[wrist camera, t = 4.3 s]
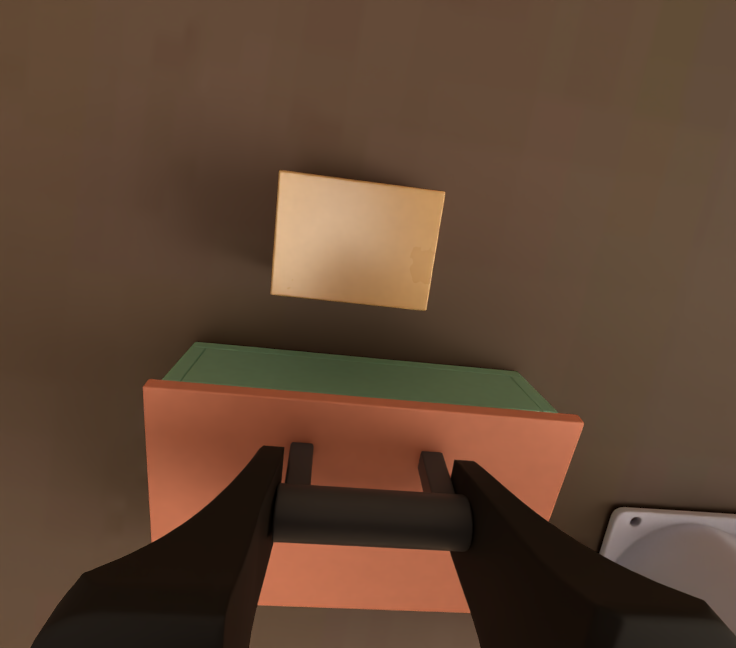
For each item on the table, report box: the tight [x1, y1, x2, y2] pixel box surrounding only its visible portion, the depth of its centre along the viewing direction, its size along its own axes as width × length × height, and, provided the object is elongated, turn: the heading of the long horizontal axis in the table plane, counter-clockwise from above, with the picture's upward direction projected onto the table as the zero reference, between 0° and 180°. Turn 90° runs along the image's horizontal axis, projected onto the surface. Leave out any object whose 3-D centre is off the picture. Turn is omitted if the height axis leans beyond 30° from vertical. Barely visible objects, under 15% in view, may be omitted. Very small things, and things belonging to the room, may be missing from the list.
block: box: [270, 170, 445, 311], centre depth 16 cm, size 5×4×4 cm
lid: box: [143, 379, 584, 613], centre depth 14 cm, size 9×13×4 cm, turn 83°
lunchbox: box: [162, 342, 558, 413], centre depth 18 cm, size 8×13×4 cm, turn 83°
